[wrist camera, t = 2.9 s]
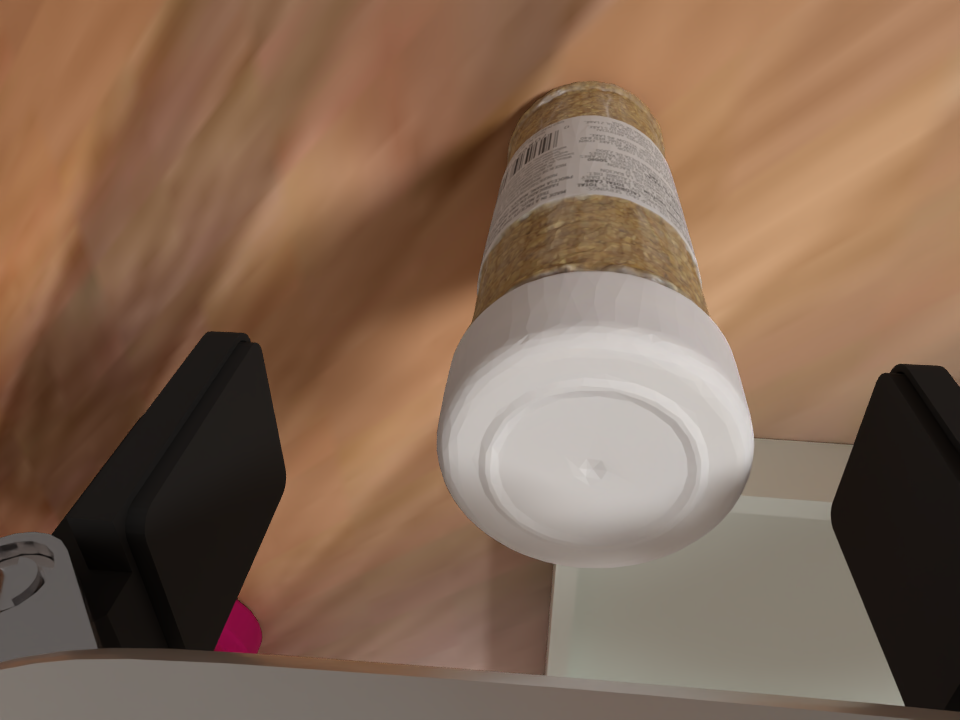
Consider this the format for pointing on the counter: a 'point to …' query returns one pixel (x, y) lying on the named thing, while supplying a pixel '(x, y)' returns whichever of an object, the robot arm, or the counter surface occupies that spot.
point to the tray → (734, 599)
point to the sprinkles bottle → (592, 352)
